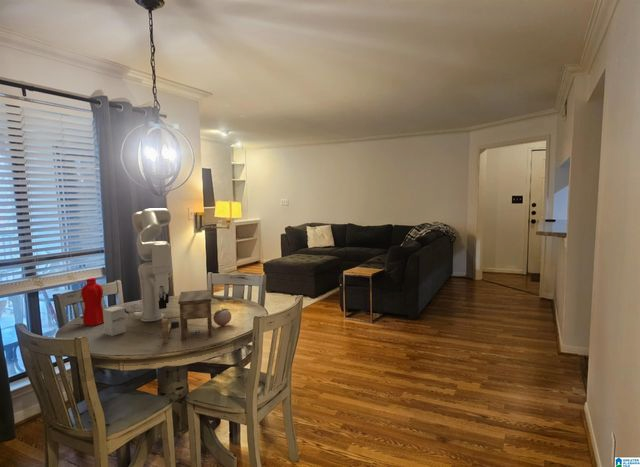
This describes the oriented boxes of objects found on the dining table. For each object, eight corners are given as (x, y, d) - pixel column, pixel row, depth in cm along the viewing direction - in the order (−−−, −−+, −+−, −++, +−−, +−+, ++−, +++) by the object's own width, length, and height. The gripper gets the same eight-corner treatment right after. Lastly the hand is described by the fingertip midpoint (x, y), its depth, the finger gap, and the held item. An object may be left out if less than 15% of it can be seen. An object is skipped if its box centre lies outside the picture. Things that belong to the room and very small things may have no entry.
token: (190, 335, 195) (190, 333, 195) (190, 332, 199) (190, 330, 199) (199, 334, 196) (199, 332, 196) (200, 331, 200) (200, 329, 200)
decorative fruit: (222, 330, 200) (221, 311, 199) (211, 327, 204) (210, 309, 203) (235, 325, 208) (234, 306, 207) (224, 322, 212) (223, 304, 211)
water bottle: (93, 319, 221) (89, 275, 218) (108, 321, 217) (104, 277, 214) (78, 325, 212) (74, 279, 209) (93, 327, 208) (89, 280, 206)
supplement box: (112, 336, 194) (110, 311, 193) (104, 333, 198) (102, 309, 197) (126, 331, 201) (124, 307, 199) (118, 329, 205) (116, 305, 203)
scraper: (175, 341, 186) (174, 319, 185) (155, 343, 184) (154, 320, 183) (179, 326, 208) (178, 305, 207) (161, 327, 206) (160, 307, 205)
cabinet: (180, 341, 187) (178, 301, 185) (182, 328, 205) (180, 291, 203) (213, 337, 191) (211, 298, 189) (212, 325, 209) (211, 289, 207)
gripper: (155, 267, 190) (157, 302, 191) (150, 273, 173) (152, 311, 175) (172, 266, 192) (174, 300, 193) (168, 272, 175) (170, 310, 177)
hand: (164, 305), depth 184 cm, fingers open, 9 cm apart
